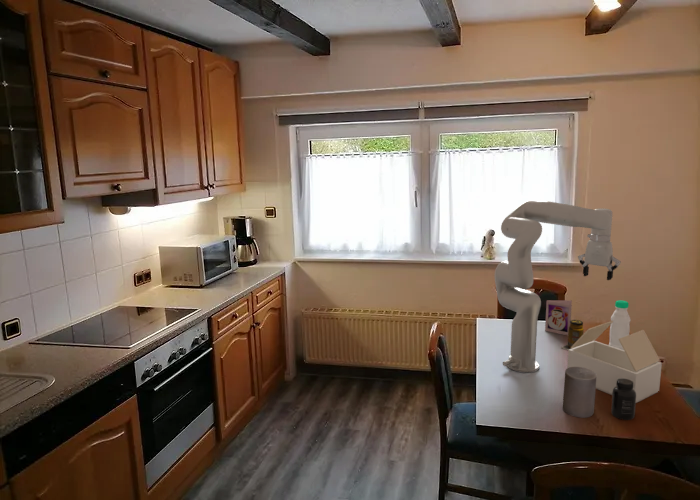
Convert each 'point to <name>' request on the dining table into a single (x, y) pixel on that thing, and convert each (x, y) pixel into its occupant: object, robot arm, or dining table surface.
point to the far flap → (591, 334)
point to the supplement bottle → (623, 400)
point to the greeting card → (558, 316)
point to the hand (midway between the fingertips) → (597, 277)
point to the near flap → (639, 350)
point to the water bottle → (619, 324)
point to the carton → (615, 368)
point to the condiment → (574, 333)
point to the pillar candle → (579, 392)
